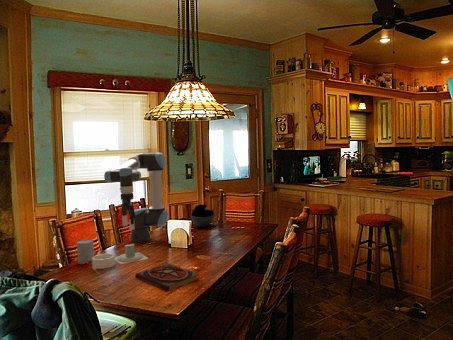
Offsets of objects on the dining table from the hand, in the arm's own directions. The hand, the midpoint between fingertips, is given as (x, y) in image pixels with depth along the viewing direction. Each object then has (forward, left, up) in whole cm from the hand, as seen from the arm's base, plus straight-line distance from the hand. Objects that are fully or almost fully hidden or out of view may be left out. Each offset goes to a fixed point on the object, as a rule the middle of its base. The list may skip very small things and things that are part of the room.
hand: (128, 227), depth 225 cm
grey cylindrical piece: (+23, -14, -20) cm, 34 cm away
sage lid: (0, 0, -19) cm, 19 cm away
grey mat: (0, 0, -20) cm, 20 cm away
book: (-5, +45, -21) cm, 50 cm away
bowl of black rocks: (-80, -52, -20) cm, 98 cm away
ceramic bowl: (+17, +4, -20) cm, 26 cm away
